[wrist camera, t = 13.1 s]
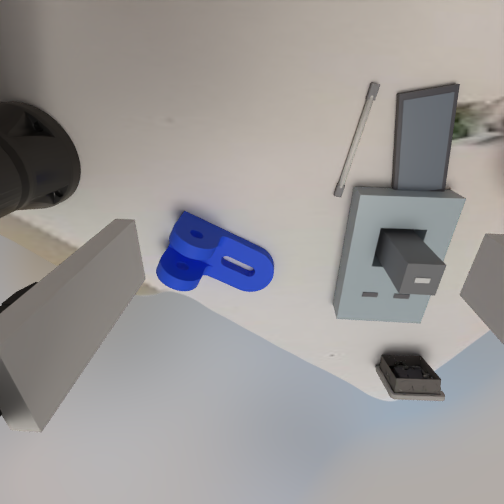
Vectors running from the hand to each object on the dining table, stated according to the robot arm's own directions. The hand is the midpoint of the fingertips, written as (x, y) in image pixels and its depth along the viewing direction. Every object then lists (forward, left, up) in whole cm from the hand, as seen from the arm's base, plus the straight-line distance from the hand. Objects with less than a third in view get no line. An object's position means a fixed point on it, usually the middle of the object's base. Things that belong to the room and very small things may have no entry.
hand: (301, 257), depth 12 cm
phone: (+19, -1, -35) cm, 40 cm away
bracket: (-9, -20, -35) cm, 41 cm away
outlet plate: (+18, -18, -35) cm, 43 cm away
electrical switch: (+26, -42, -35) cm, 61 cm away
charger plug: (+18, -15, -34) cm, 42 cm away
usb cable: (+10, -1, -35) cm, 36 cm away
